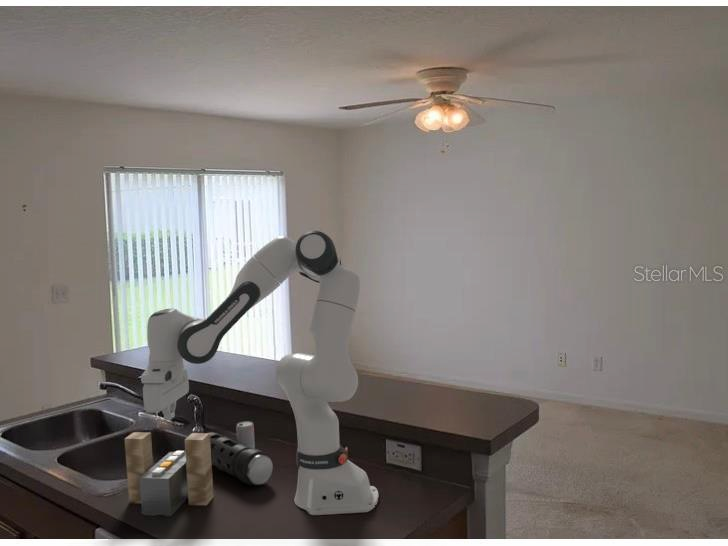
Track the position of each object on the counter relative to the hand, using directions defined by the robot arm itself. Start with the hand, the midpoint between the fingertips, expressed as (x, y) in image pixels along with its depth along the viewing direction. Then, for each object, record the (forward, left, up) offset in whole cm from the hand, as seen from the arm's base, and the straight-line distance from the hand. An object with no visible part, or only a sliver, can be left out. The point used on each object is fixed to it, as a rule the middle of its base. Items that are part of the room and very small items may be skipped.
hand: (169, 418), depth 175 cm
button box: (0, +2, -22) cm, 22 cm away
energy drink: (-12, -26, -22) cm, 36 cm away
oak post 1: (+8, +2, -22) cm, 24 cm away
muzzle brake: (-12, -15, -22) cm, 30 cm away
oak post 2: (-9, +2, -22) cm, 24 cm away
